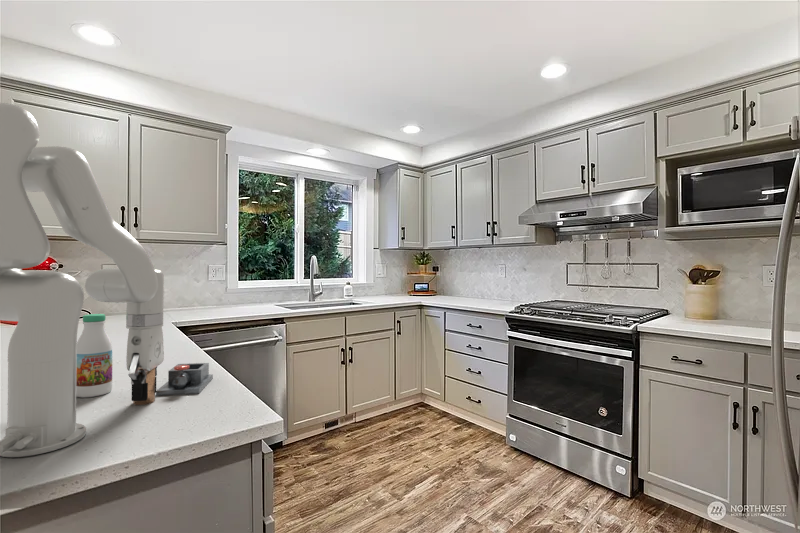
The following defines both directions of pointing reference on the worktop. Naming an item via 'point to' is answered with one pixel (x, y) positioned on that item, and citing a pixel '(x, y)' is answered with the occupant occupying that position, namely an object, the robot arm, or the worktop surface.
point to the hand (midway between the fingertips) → (144, 396)
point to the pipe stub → (151, 387)
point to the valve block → (186, 379)
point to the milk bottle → (94, 358)
